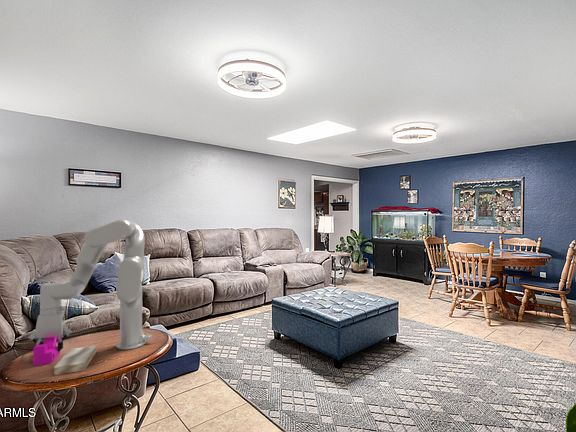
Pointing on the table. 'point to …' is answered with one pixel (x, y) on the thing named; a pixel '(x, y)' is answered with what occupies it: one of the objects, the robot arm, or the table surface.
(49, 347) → the toy block
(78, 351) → the plinth
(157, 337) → the table surface
